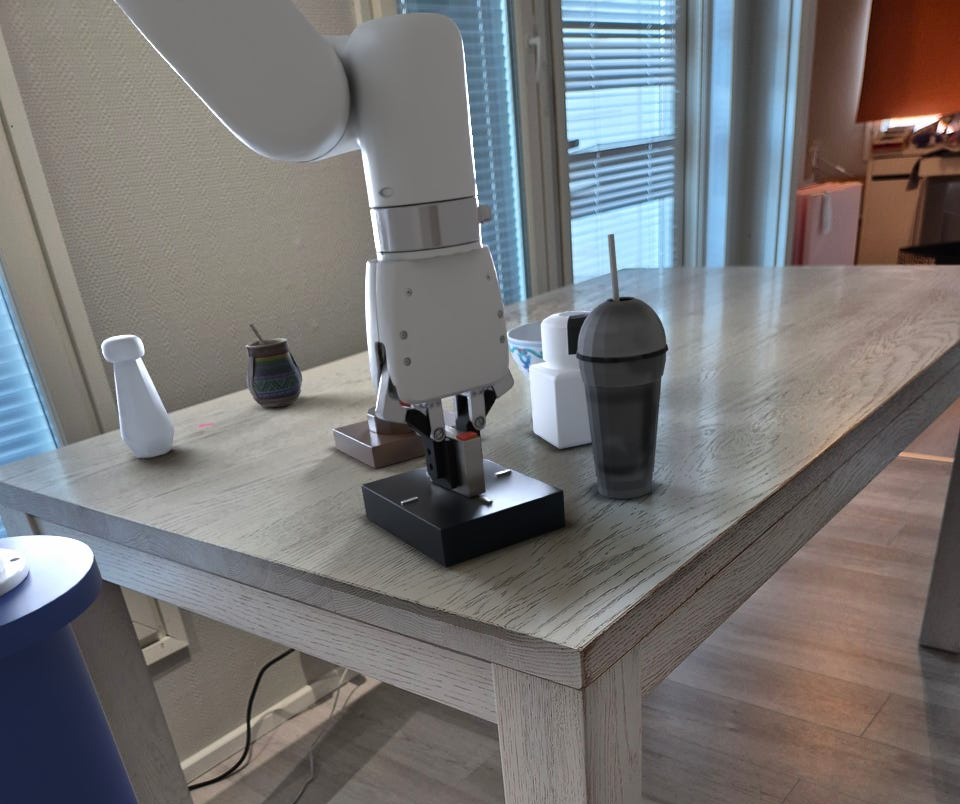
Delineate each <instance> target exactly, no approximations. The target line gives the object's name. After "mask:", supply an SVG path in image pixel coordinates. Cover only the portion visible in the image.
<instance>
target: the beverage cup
mask: <svg viewBox="0 0 960 804" xmlns="http://www.w3.org/2000/svg"><path fill="white" fill-rule="evenodd" d="M615 242H616V241H615V233H611V234H610V233H609V234H607V245H608V247H607V248H608V258H609V259H608V260H609V270H610V280H611V281H610V282H611V294H612V296H611V298H608V299H605V300H604V301H601V302H600V303H599V304H597V305H596V306H595V307H594V308H593V309H592V310H590V311H591V312H590V314H589V315H588V316H587V318H586V319H585V321H584V323H583V325H582V327H581V331H580V334H579V339H578V350H577V352H576V358H577V359H579V368H580V372H581V376H582V381H583V383H584V385H585V393H586V401H587V409H588V417H589V425H590V433H591V441H592V443H591V448H592V456H593V457H592V458H593V463H594V472H595V477H596V480H597V481H596V482H597V487H598V493H599V494H600V496H603V497H605V498H609V499H614V500H615V499H616V500H617V499H619V500H625V499H634V498H639V497H640V498H641V497H642V496H644V495H648V494H649V493H650V492H651V490H652V481H653V478H654V477H653V476H654V471H655V463H656V450H657V449H656V448H657V437H658V425H659V414H660V413H659V412H660V401H661V388H662V379H663V376H664V374H665V373H664V372H665V367H666V364H667V352H668V351H669V346H668V343H667V335H666V331H665V327H664V325H663V322H662V320H661V319H660V316H659V315H658V313H657V312H656V311H655V309H654V308H653V307H652V306H650V304H649V303H647V302H645V301H644V300H642V299H641V298H638V297H634V296H620V289H619V277H618V266H617V253H616V252H617V251H616V243H615Z"/></svg>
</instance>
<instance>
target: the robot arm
mask: <svg viewBox="0 0 960 804" xmlns="http://www.w3.org/2000/svg"><path fill="white" fill-rule="evenodd" d="M113 1H114V2H115V3H116V5H117V6H118V8H120V10H121V11H122V12H123V13H124V14H125V16H126V17H127V18H128V19H129V20H130V22H131V24H133V25H134V26H135V28H136V29H137V30H138V32H140V33H141V35H142V36H144V38H145V39H146V40H147V41H148V42H149V44H150V45H151V47H153V48H154V50H155V51H156V52H157V53H158V54H159V55H160V56H161V57H162V58H163V59H164V61H165V62H166V63H167V64H168V65H169V66H170V67H171V68H172V69H173V70H174V72H175V73H176V74H177V75H178V76H179V77H180V78H181V79H182V80H183V81H184V82H185V83H186V84H187V86H188V87H189V88H190V89H191V90H192V91H193V92H194V94H195V95H196V96H197V97H198V98H199V99H200V100H201V101H202V102H203V103H204V104H205V106H206V107H207V108H208V109H209V110H210V112H212V113H213V114H214V116H215V117H217V119H218V120H219V121H220V122H221V123H222V124H223V125H224V126H225V127H226V128H227V129H228V130H229V131H230V133H232V134H233V135H234V136H235V137H236V138H237V139H238V140H239V141H240V142H241V143H242V144H244V145H245V146H246V147H248V148H249V149H250V150H252V151H253V152H255V153H256V154H258V155H260V156H262V157H264V158H267V159H270V160H273V161H278V162H285V163H297V164H308V163H315V162H318V161H322V160H325V159H329V158H332V157H335V156H339V155H342V154H346V153H349V152H353V151H358V150H360V152H361V159H362V165H363V172H364V178H365V185H366V191H367V193H366V194H367V199H368V206H369V208H370V209H369V212H370V217H371V225H372V231H373V240H374V245H375V246H374V247H375V251H376V258H373V259H368V260H367V261H366V267H365V284H364V285H365V286H364V287H365V290H364V293H365V294H364V297H365V298H364V299H365V300H364V303H365V309H364V310H365V326H366V327H365V328H366V329H365V330H366V341H367V353H368V363H369V369H370V375H371V376H370V377H371V382H372V386H373V390H374V392H375V393H376V394H377V399H376V405H375V406H376V411H375V414H376V416H377V417H378V418H379V419H382V420H385V421H388V422H394V423H401V424H406V425H407V426H408V427H410V428H411V429H412V430H414V431H415V432H416V434H417V435H419V436H422V437H423V444H424V452H425V455H424V458H425V467H426V466H427V472H428V475H429V476H430V478H431V480H432V482H433V483H435V484H437V485H440V486H442V487H444V488H447V489H449V490H452V489H455V488H457V486H458V478H457V470H456V461H455V453H454V444H453V441H452V439H449V438H446V430H445V423H444V416H443V410H444V408H443V404H442V399H446V398H450V397H452V404H453V413H454V415H455V421H456V425H454V426H451V427H452V428H455V429H458V430H461V431H464V432H469V431H471V432H474V433H477V436H479V437H480V439H481V440H482V436H481V431H482V430H483V429H484V428H486V424H487V416H488V414H489V413H490V412H491V409H492V408H493V406H494V405H495V403H496V401H497V399H500V398H502V396H503V395H505V394H506V393H508V392H509V391H510V390H511V389H512V388H513V387H514V385H515V380H514V377H513V375H512V372H511V370H510V349H509V346H508V337H507V332H508V330H507V329H508V328H507V322H506V315H505V308H504V303H503V297H502V291H501V288H500V283H499V279H498V273H497V270H496V266H495V263H494V259H493V256H492V252H491V249H490V247H489V245H488V244H483V243H482V236H483V230H482V227H483V226H485V225H489V224H491V222H492V217H493V213H492V209H491V207H490V205H488V204H487V203H486V204H480V199H479V196H477V195H478V187H477V180H476V168H475V158H474V147H473V145H474V144H473V135H472V125H471V113H470V104H469V103H470V102H469V91H468V81H467V80H468V79H467V71H466V59H465V50H464V43H463V37H462V33H461V30H460V29H459V26H458V25H457V24H456V22H455V21H454V20H453V19H451V18H450V17H449V16H448V15H444V14H441V13H438V12H405V13H397V14H389V15H384V16H381V17H377V18H373V19H370V20H366V21H364V22H362V23H360V24H359V25H358V26H356V27H355V28H354V29H353V30H352V32H351V33H350V34H344V35H342V34H341V35H336V34H335V35H323V34H321V33H320V32H319V31H318V29H316V27H315V26H314V24H312V23H311V21H310V20H309V19H308V17H306V15H305V14H304V13H303V12H302V11H301V9H300V8H299V7H298V6H297V4H295V2H294V1H293V0H113ZM400 400H401V401H402V402H404V403H406V404H411V408H410V407H406V406H401V404H400ZM481 448H482V449H483V445H482V443H481ZM482 458H484V454H483V453H482ZM28 571H29V567H28V564H27V561H26V559H25V557H24V555H22V554H21V553H19V552H17V551H13V550H9V549H0V597H1V596H3V595H5V594H6V593H8V592H9V591H11V590H13V589H14V588H15V587H16V586H18V585H19V584H20V583H21V582H22V581H23V580H24V579H25V577H26V576H27V574H28Z"/></svg>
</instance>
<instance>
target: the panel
mask: <svg viewBox="0 0 960 804" xmlns="http://www.w3.org/2000/svg"><path fill="white" fill-rule="evenodd" d="M483 468H484V477H485V487H486V492H485V493H482V494H479V495H476V496H473V497H470V498H469V497H467V496H465V495H462V494H460V493H458V492H455V491H453V490H449V489H447V488H444V487H442V486H440V485H437V484H435V483H433V482H432V481H431V480H430V476H429V475H428V472H427V466H426V465H425V466H423V467H419V468H415V469H411V470H408V471H405V472H401V473H397V474H395V475H391V476H387V477H383V478H380V479H376V480H373V481H370V482H366V483H363V484H361V485H360V488H361V493H362V498H363V499H362V500H363V505H364V510H365V515H366V516H365V517H366V519H368V520H369V521H371V522H372V523H374V524H376V525H378V526H379V527H381V528H382V529H384V530H385V531H388V532H389V533H391V534H392V535H394V536H395V537H397V538H399V539H400V540H402V541H403V542H405V543H407V544H408V545H409V546H411V547H413V548H414V549H417V550H418V551H419V552H421V553H423V554H424V555H426V556H428V557H429V558H431V559H432V560H434V561H435V562H436V563H438V564H439V565H442V566H443V567H445V568H447V567H450V566H453V565H456V564H458V563H462V562H465V561H467V560H470V559H473V558H476V557H480V556H482V555H486V554H488V553H492V552H494V551H497V550H499V549H502V548H506V547H509V546H511V545H515V544H517V543H520V542H522V541H526V540H529V539H532V538H535V537H537V536H541V535H544V534H547V533H549V532H552V531H555V530H558V529H561V528H564V527H566V514H565V513H566V511H565V494H564V490H563V489H561V488H558V487H556V486H553V485H551V484H550V483H549V484H548V483H546V482H544V481H541V480H538V479H536V478H533V477H531V476H528V475H526V474H524V473H521V472H518V471H516V470H513V469H511V468H509V467H506V466H503V465H501V464H499V463H496V462H494V461H492V460H491V461H490V460H489V459H487V458H484V457H483Z"/></svg>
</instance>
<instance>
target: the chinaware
mask: <svg viewBox="0 0 960 804" xmlns="http://www.w3.org/2000/svg"><path fill="white" fill-rule="evenodd" d="M543 320H544V319H543ZM543 320H537V321H532V322H528V323H524V324H521V325H518V326H516V327H513V328H511V329H509V330H507V337H508V348H509V352H510V354H511V356H512V358H513V360H514V363H515V365H516V366H517V368H518V370H519V371H520V372H521V374H523V375H524V376H525V378H526V379H528V380H529V381H530V376H529V367H530V366H531V365H534V364H539V363H545V362H546V361H544V360H543V352H542V336H541V323H542V322H543Z"/></svg>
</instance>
